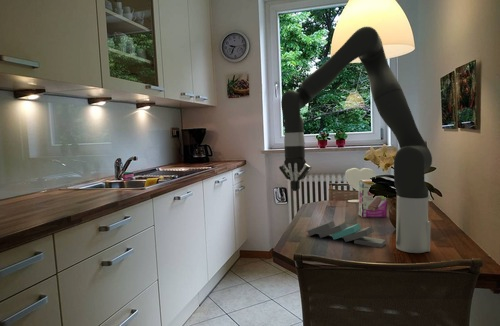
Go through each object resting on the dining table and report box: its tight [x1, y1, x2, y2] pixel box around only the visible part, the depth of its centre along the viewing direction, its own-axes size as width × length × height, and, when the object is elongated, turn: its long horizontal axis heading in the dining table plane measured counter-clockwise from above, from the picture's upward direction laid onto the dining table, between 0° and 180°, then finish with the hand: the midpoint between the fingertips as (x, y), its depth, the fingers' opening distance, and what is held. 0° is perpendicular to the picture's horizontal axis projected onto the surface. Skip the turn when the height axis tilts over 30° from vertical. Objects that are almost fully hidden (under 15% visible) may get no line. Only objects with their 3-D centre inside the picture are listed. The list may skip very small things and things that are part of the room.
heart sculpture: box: [344, 167, 377, 203], centre depth 196 cm, size 16×5×18 cm, turn 78°
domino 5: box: [353, 236, 386, 249], centre depth 123 cm, size 2×5×9 cm
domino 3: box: [331, 223, 362, 240], centre depth 127 cm, size 2×5×9 cm
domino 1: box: [306, 220, 336, 237], centre depth 133 cm, size 2×5×9 cm
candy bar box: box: [358, 180, 388, 219], centre depth 160 cm, size 11×5×16 cm, turn 92°
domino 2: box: [317, 221, 348, 239], centre depth 130 cm, size 2×5×9 cm
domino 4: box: [342, 225, 375, 243], centre depth 124 cm, size 2×5×9 cm
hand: (295, 190), depth 137 cm, fingers closed
